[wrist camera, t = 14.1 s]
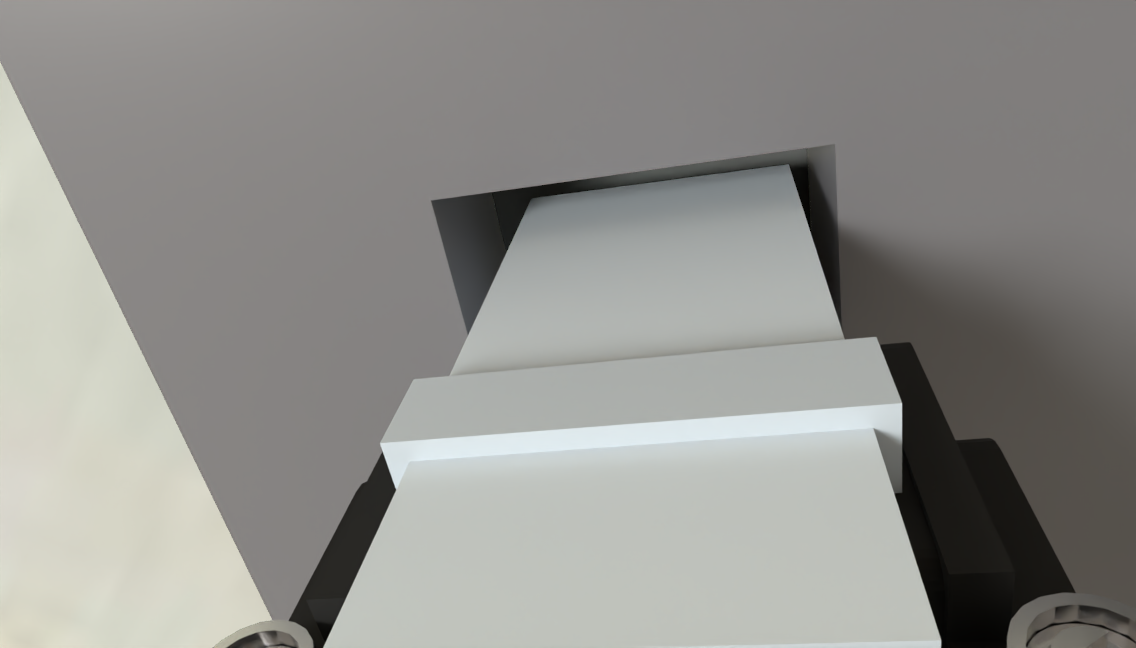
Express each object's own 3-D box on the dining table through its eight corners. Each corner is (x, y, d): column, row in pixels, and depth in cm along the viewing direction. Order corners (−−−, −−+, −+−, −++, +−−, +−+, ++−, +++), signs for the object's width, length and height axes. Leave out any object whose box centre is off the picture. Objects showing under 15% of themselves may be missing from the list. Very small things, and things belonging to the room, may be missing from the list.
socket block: (1155, 531, 19) (1247, 663, 16) (356, 573, 22) (306, 687, 19) (1361, -578, 10) (1646, -756, 7) (31, -225, 14) (-151, -248, 11)
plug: (816, 396, 16) (959, 1003, 8) (566, 416, 17) (441, 974, 9) (803, 147, 14) (983, 612, 5) (515, 187, 15) (278, 634, 6)
